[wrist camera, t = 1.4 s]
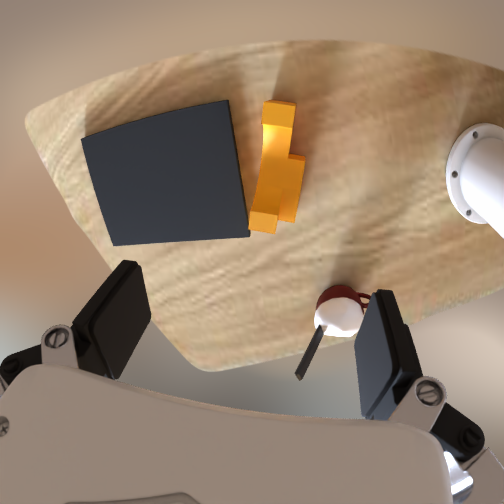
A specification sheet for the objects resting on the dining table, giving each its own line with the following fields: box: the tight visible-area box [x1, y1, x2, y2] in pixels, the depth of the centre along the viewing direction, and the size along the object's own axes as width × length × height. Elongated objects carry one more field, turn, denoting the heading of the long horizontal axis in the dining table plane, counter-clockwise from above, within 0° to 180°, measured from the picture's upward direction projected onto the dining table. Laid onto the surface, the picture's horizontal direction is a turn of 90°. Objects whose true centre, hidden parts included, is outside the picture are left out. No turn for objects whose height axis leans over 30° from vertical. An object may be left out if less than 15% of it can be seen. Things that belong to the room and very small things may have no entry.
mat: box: [81, 100, 251, 246], centre depth 34 cm, size 20×16×1 cm
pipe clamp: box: [248, 100, 305, 234], centre depth 28 cm, size 12×4×6 cm, turn 174°
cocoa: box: [295, 285, 371, 381], centre depth 34 cm, size 10×6×12 cm, turn 95°
